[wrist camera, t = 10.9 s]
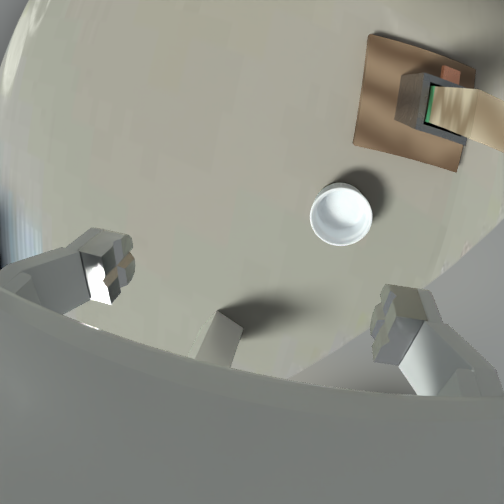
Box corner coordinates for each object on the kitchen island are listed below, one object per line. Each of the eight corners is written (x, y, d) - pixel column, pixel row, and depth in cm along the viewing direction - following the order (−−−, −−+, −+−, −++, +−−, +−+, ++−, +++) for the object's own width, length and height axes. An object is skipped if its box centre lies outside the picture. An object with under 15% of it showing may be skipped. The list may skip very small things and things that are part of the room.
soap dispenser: (235, 349, 66) (205, 436, 47) (201, 326, 64) (161, 411, 46) (252, 334, 62) (224, 427, 44) (216, 310, 61) (176, 400, 42)
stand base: (367, 36, 33) (370, 34, 31) (470, 69, 31) (475, 69, 29) (352, 142, 41) (354, 145, 39) (451, 168, 39) (456, 172, 37)
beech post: (421, 85, 28) (478, 88, 16) (451, 96, 28) (517, 107, 15) (415, 118, 30) (469, 139, 18) (445, 127, 30) (508, 155, 17)
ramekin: (374, 225, 46) (378, 238, 43) (320, 239, 49) (319, 252, 46) (360, 172, 43) (364, 180, 39) (303, 187, 46) (301, 197, 42)
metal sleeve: (402, 64, 32) (426, 58, 23) (444, 78, 31) (477, 78, 23) (394, 119, 36) (415, 129, 27) (435, 131, 35) (465, 145, 27)
